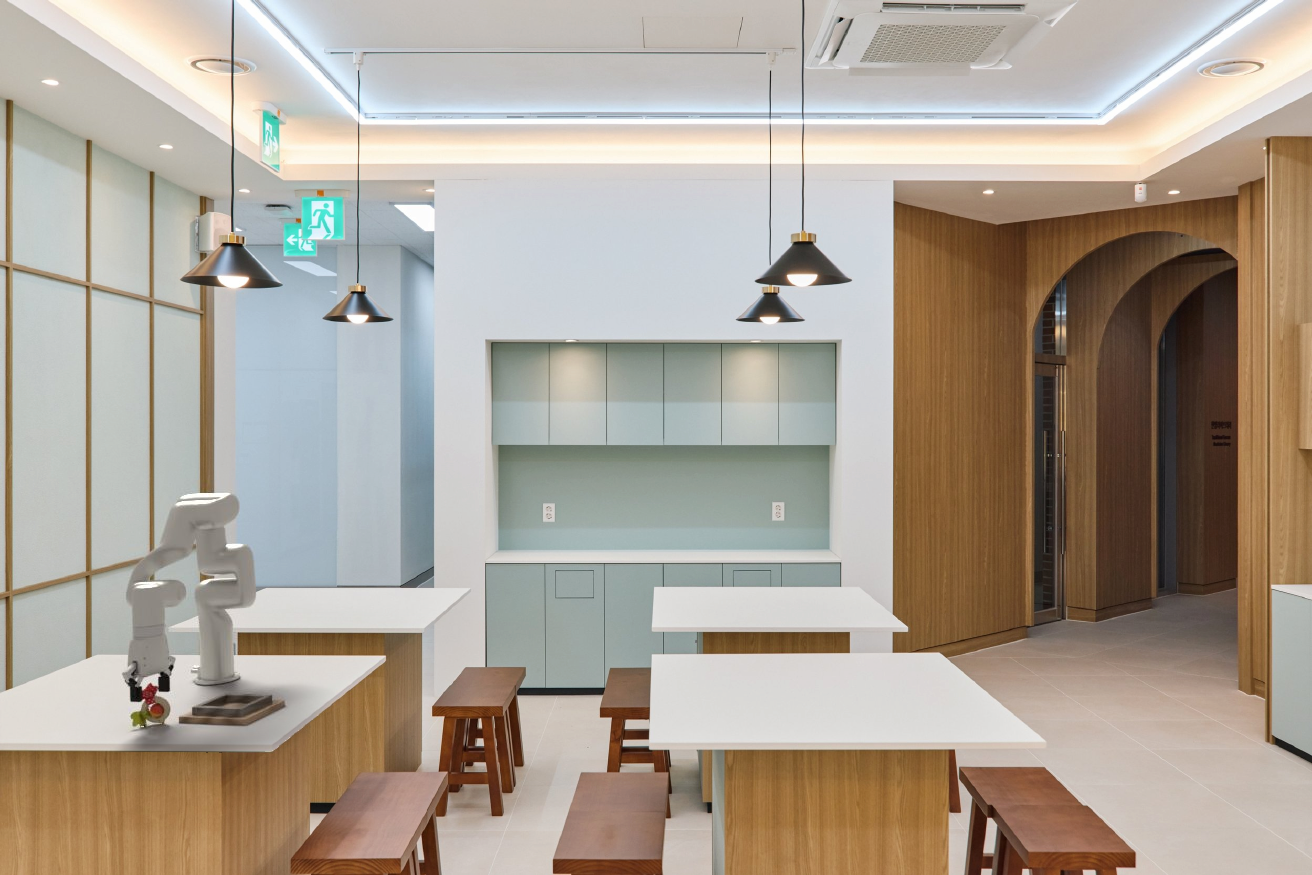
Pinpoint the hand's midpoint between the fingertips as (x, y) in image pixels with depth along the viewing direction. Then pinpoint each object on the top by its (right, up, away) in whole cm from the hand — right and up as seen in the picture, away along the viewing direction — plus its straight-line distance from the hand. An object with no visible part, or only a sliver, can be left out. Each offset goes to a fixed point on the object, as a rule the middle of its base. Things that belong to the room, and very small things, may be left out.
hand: (150, 696), depth 238 cm
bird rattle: (0, -8, +1) cm, 8 cm away
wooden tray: (+18, -7, +8) cm, 21 cm away
